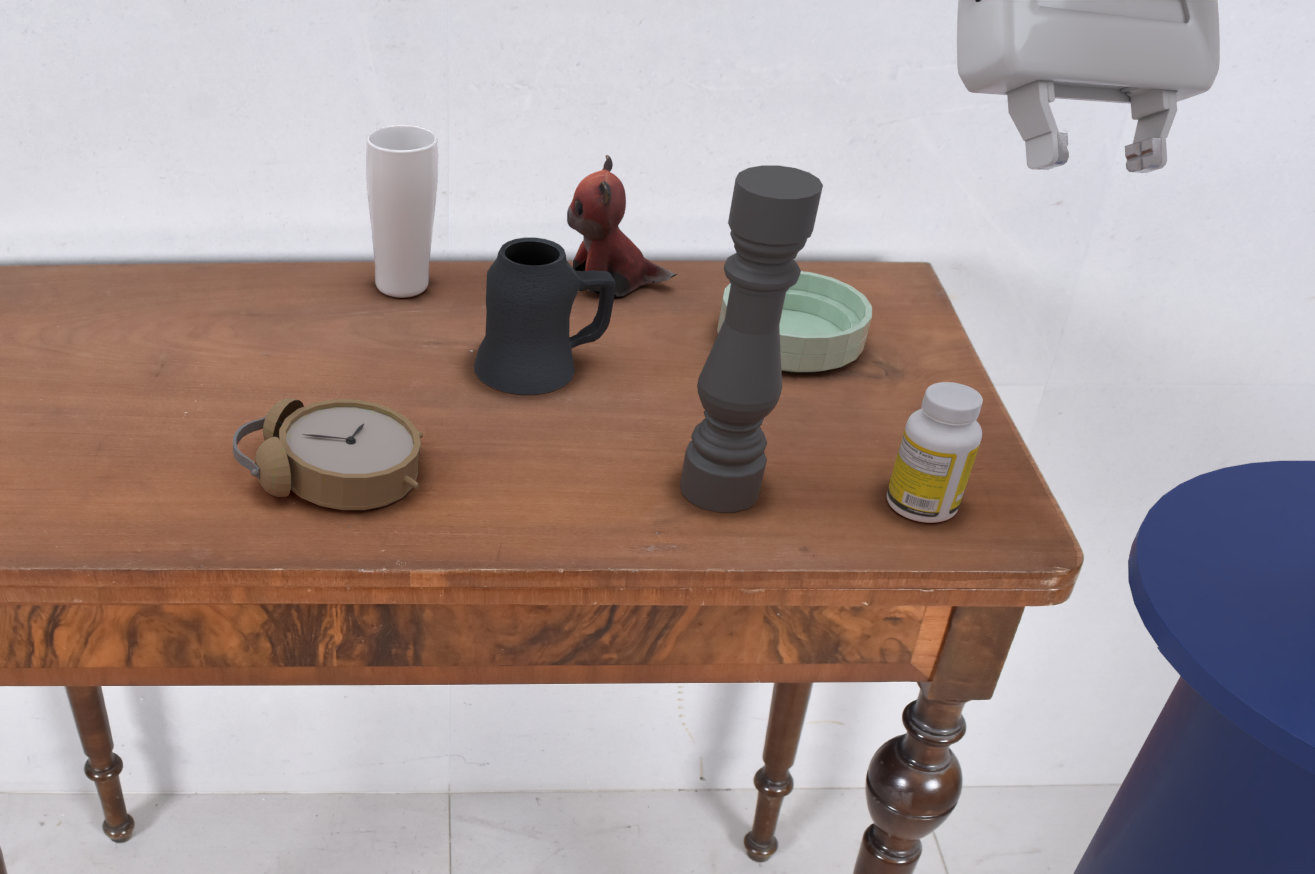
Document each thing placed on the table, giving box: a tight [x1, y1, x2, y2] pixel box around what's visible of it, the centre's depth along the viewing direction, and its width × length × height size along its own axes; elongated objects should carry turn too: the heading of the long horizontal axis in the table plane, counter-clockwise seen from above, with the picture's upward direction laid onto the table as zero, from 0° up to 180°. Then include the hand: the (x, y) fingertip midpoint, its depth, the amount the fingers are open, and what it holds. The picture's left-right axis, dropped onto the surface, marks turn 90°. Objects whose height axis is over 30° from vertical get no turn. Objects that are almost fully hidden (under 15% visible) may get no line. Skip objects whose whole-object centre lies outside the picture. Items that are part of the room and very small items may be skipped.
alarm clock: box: [232, 398, 424, 511], centre depth 103 cm, size 11×5×15 cm
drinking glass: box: [365, 124, 439, 299], centre depth 123 cm, size 7×7×15 cm
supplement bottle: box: [886, 381, 984, 524], centre depth 97 cm, size 5×5×10 cm
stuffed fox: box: [566, 154, 679, 297], centre depth 124 cm, size 8×11×12 cm
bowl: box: [716, 270, 873, 373], centre depth 119 cm, size 13×13×4 cm
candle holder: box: [679, 164, 824, 513], centre depth 94 cm, size 6×6×25 cm
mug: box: [473, 236, 615, 395], centre depth 113 cm, size 12×9×11 cm
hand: (1098, 168), depth 79 cm, fingers open, 8 cm apart
